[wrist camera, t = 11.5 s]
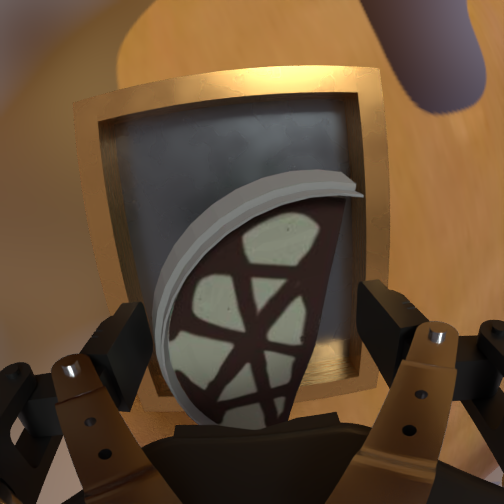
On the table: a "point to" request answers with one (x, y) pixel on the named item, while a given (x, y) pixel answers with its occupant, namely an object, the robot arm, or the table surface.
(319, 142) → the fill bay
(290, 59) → the table surface
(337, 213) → the food container
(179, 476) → the robot arm
